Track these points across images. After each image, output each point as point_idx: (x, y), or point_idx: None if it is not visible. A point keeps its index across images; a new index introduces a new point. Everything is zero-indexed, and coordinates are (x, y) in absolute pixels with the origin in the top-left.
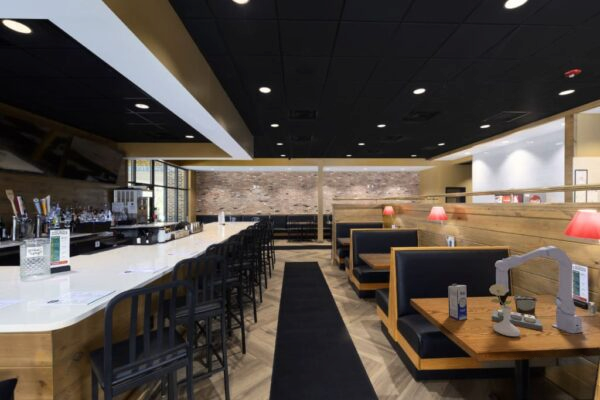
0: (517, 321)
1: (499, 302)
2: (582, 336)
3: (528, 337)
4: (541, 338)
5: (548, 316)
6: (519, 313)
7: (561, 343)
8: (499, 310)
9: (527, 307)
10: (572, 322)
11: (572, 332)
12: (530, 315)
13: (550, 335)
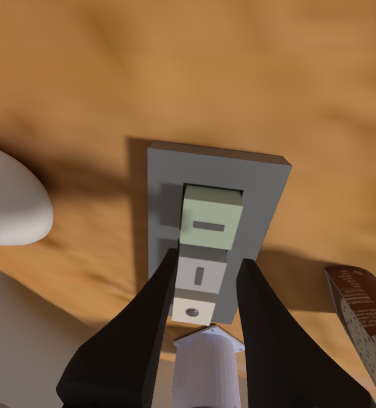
0: (149, 255)
1: (160, 264)
2: (169, 350)
3: (44, 252)
4: (71, 280)
5: (321, 337)
6: (215, 289)
7: (76, 308)
8: (217, 209)
9: (351, 329)
10: (172, 385)
11: (176, 346)
12: (208, 317)
13: (120, 303)
